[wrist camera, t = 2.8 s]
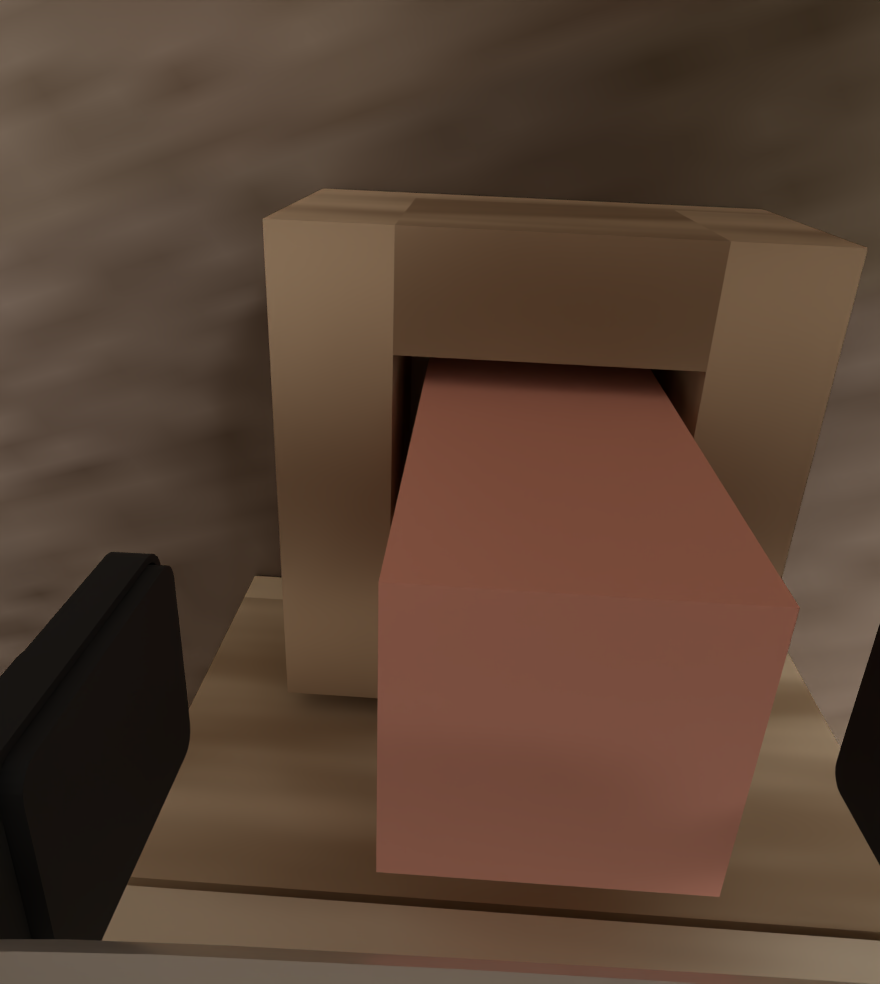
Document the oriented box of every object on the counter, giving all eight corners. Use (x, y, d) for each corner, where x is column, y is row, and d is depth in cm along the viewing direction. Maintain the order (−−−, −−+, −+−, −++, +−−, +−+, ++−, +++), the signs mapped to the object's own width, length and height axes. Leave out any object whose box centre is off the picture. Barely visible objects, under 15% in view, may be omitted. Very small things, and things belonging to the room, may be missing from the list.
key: (436, 326, 17) (378, 581, 8) (629, 336, 17) (799, 607, 8) (429, 498, 18) (376, 872, 9) (605, 509, 18) (719, 897, 9)
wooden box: (227, 184, 17) (-18, 256, 9) (862, 213, 16) (1235, 320, 8) (287, 1043, 29) (212, 1398, 21) (644, 1071, 29) (705, 1444, 21)
